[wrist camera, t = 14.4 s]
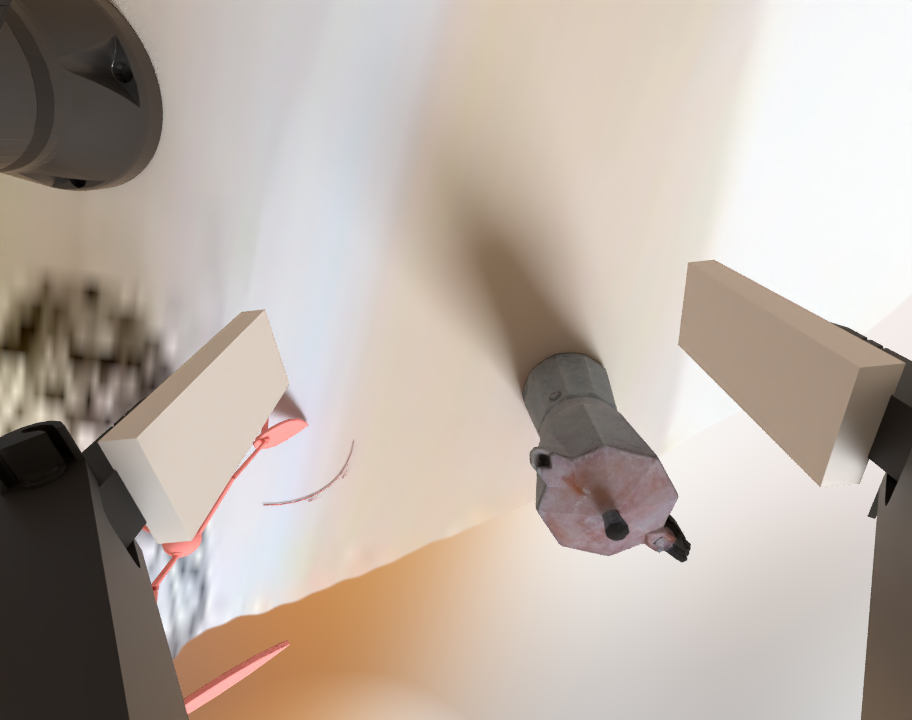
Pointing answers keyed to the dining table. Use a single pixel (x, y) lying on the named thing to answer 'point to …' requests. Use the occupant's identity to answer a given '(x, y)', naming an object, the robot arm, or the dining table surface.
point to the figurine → (182, 549)
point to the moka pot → (596, 465)
